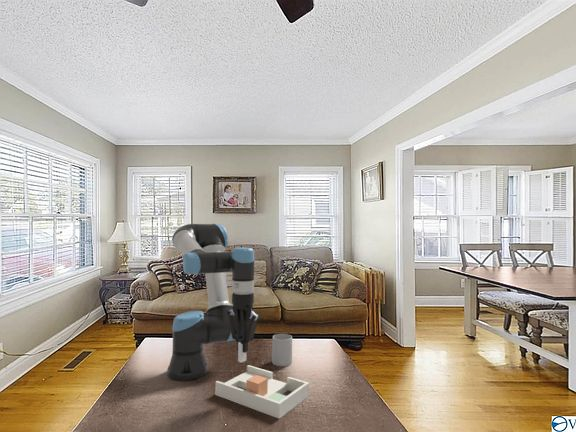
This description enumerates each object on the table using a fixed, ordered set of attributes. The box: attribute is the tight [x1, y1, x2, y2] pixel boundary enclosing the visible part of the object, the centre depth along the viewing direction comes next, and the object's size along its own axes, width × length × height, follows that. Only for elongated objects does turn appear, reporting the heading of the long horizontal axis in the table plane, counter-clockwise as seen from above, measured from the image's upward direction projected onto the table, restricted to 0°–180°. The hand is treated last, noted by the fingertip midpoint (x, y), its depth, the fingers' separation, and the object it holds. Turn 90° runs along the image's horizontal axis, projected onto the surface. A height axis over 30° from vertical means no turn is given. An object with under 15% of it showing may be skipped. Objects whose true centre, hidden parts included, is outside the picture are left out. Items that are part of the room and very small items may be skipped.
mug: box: [271, 333, 293, 367], centre depth 159 cm, size 12×8×11 cm
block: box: [246, 375, 268, 396], centre depth 123 cm, size 5×5×5 cm
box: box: [214, 364, 310, 419], centre depth 127 cm, size 27×18×4 cm, turn 57°
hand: (242, 360), depth 127 cm, fingers closed
